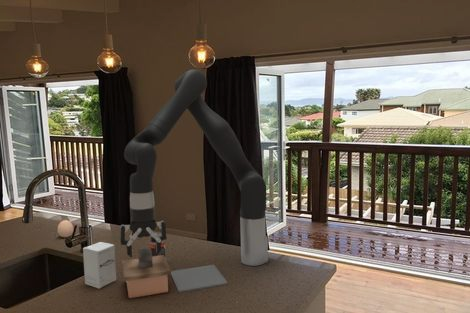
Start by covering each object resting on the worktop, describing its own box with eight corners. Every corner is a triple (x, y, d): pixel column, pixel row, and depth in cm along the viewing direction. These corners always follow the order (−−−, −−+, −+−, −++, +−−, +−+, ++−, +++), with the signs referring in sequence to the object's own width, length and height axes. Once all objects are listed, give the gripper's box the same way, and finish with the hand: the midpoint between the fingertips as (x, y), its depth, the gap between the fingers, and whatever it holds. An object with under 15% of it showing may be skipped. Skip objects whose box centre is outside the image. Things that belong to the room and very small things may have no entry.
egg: (72, 238, 177) (71, 221, 176) (56, 240, 176) (55, 222, 175) (74, 234, 183) (73, 217, 182) (59, 235, 182) (58, 218, 181)
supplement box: (99, 289, 127) (96, 251, 125) (84, 284, 131) (81, 247, 129) (117, 280, 133) (115, 244, 131) (102, 276, 137) (100, 240, 135)
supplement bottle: (169, 263, 147) (168, 233, 146) (159, 269, 142) (158, 238, 140) (156, 260, 150) (154, 231, 148) (146, 266, 144) (144, 236, 143)
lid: (164, 258, 136) (163, 240, 135) (171, 274, 123) (170, 255, 122) (122, 264, 131) (121, 246, 131) (124, 281, 118) (123, 261, 117)
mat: (214, 266, 143) (214, 264, 143) (227, 284, 128) (227, 282, 128) (170, 272, 138) (170, 271, 138) (178, 292, 123) (178, 291, 123)
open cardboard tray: (162, 276, 135) (161, 259, 134) (168, 291, 124) (167, 273, 123) (126, 282, 131) (125, 264, 131) (128, 298, 120) (127, 279, 119)
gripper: (163, 200, 130) (164, 248, 132) (118, 204, 126) (120, 253, 128) (166, 206, 123) (168, 255, 125) (119, 210, 119) (121, 261, 121)
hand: (144, 254), depth 127 cm, fingers open, 8 cm apart
